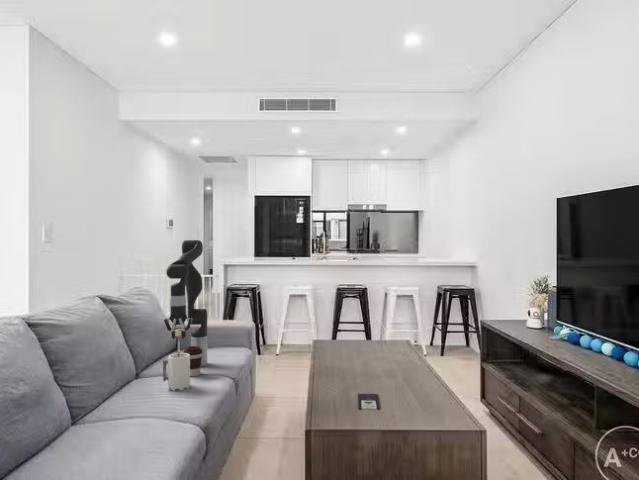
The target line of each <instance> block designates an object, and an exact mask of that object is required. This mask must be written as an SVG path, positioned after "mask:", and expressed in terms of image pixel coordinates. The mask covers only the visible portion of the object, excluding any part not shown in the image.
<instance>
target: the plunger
mask: <svg viewBox="0 0 639 480" xmlns="http://www.w3.org/2000/svg"><path fill="white" fill-rule="evenodd" d="M174 336H175V338H177V353H178V358H180V353H181V338H182V328H181V329H179V328H178V329H175V330H174Z"/></svg>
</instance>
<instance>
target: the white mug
mask: <svg viewBox="0 0 639 480" xmlns="http://www.w3.org/2000/svg"><path fill="white" fill-rule="evenodd" d="M162 370H163V371H162V373H163V374H162V375H163V376H162V379H163V382H166V381H167V383H168V387H167V389H168V390H169V389H170V390H169V391H171V390H173V391H172V392H179V391H178V390H182V391H185V390H188V389H187V388H189V389H190V387H191V377H190V354H187V353H184V352H180V358H178V352H177V353H172V354H169V355H168V356H167V359H163V360H162ZM167 371H168V372H167ZM184 389H185V390H184Z"/></svg>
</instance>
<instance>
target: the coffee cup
mask: <svg viewBox="0 0 639 480" xmlns="http://www.w3.org/2000/svg"><path fill="white" fill-rule="evenodd" d="M183 353H187V354H190V376H193V377H198V376H200V375H201V368H202V367H201V358H202V356H201V353H202V349H200V347H198V346H191V345H190V346H188V347H186V349H185V350H184V351H183Z"/></svg>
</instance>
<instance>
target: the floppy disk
mask: <svg viewBox="0 0 639 480" xmlns="http://www.w3.org/2000/svg"><path fill="white" fill-rule="evenodd" d="M357 394H358V395H357V397H358V398H357V399H358V401H357V402H358V403H357V404H358V410H380V409H381V408H380V402H379V395H378V393H357Z"/></svg>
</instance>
